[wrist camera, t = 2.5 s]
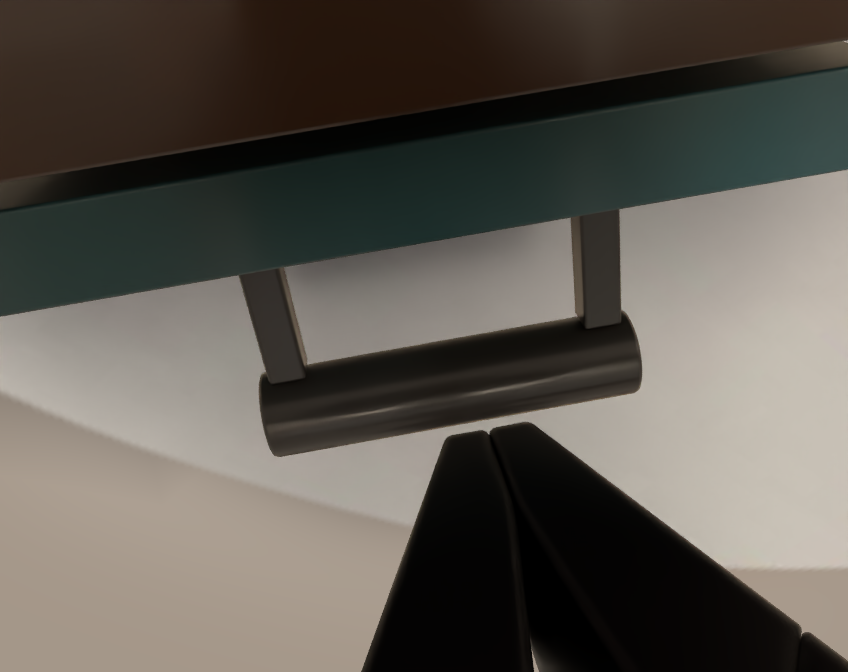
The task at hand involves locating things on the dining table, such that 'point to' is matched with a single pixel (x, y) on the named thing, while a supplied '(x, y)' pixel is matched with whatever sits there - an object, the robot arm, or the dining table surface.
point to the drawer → (428, 228)
